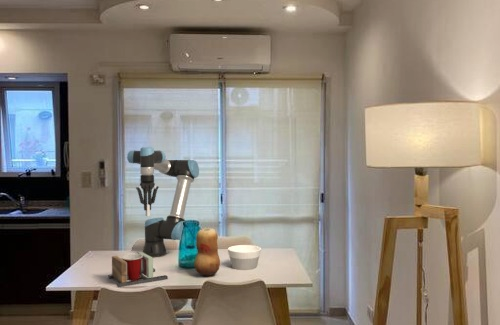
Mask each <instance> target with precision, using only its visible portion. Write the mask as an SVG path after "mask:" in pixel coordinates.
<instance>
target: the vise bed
mask: <svg viewBox="0 0 500 325" xmlns="http://www.w3.org/2000/svg"><path fill="white" fill-rule="evenodd" d="M153 273H156V269H155V267H153ZM140 275H143V274H142V273H140ZM107 276H108V277H107V278H108V280H112V279H113V280H114V281H116V283H118V284H117V285H118V287H119V288H121V287H129V286H135V285H140V284H145V283H151V282H158V281H165V280H168V278H169V277H168V275H166V274H163V275H159V276H153V277H150V278H148V277H145V278H141V279H140V278H139V279H136V280H128V275H127V263H126V261H124V260H123V259H122V257H119V256H118V255H112V256H111V274H109V275H107ZM127 280H128V281H127Z"/></svg>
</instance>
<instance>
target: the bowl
mask: <svg viewBox="0 0 500 325" xmlns="http://www.w3.org/2000/svg"><path fill="white" fill-rule="evenodd" d="M227 252H228V256H229V259H230V265H231V268H232V269H234V270H238V271H250V270H255V269H257V267H258V263H259V259H260V256H261V252H262V248H261V246H258V245H254V244H238V245H231V246H229V247H228V248H227Z"/></svg>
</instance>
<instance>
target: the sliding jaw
mask: <svg viewBox="0 0 500 325" xmlns="http://www.w3.org/2000/svg"><path fill="white" fill-rule="evenodd" d="M137 254H141V255H143V257H142V261H141V273H142V274H141V275H144V276H145V277H146V278H151V277H154V272H153V268H154V257H151V256H149V255H147V254H145V253H143V252H142V251H138V252H137Z"/></svg>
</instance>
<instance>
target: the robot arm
mask: <svg viewBox="0 0 500 325" xmlns="http://www.w3.org/2000/svg"><path fill="white" fill-rule="evenodd" d="M126 155H127V157H126V158H127V159H126V160H127V161H128V163H130V164H136V165H140V168H139V169H140V170H139V171H140V183H139V185H138V186H137V187H135V189H136V191H137V194H138V198H139V202H140V204H142V205H143V210H144V211H145V217H150V214H151V210H152V204H155V201H156V198H157V192H158V190H159V187H160V186H157V185H156V183H155V175H154V174H155V170H156V171H158V172H159V173H161V174H164V175H166V176H168V177H173V178H175V179H176V180H177V183H176V185H175V186H176V187H175V191H174V196H173V200H172V203H171V209H170V214H168V215H167V216H166V220H165V219H164V217H153V218H149V219H146V220H145V221H144V246H143V247H142V248H143V249H142V251H141V252H143V253H145V254H147V255H149V256H151V257H153V258H157V257H158V258H159V257H163V256H166V255H167V248H166V245H165V242H164V240H173V241H178V240H179V241H181V240H180V238H181V233H182V229H183V222H186V219H185V218H184V216H185V212H186V206H187V201H188V199H189V198H188V197H189V193H190V190H191V189H190V188H191V184H192V183H194V181H195V179H196V178H198V177H199V175H200V167H199V164H198V162H197V161H196V160H193V159H167V158H166V153H165V152H164V151H162V150H155V149H154V147H152V146H149V147H147V146H146V147H144V146H143V147H141V148H140V150H130V151H128V152H127V154H126ZM142 191H143V193H142ZM152 191H153V192H152Z"/></svg>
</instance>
